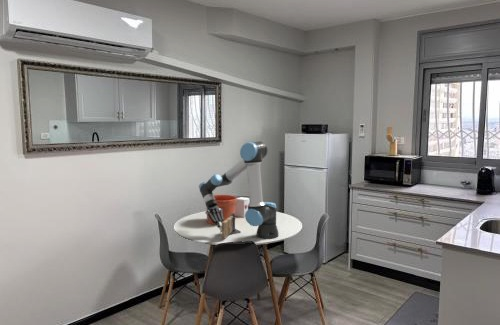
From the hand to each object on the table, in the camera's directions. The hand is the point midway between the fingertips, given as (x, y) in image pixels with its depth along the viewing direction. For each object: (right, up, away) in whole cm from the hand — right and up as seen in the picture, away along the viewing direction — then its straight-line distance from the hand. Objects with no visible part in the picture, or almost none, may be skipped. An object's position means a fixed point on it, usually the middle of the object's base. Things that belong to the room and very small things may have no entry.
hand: (222, 231), depth 242 cm
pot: (-5, -1, +44) cm, 44 cm away
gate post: (+6, -4, +15) cm, 17 cm away
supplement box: (+12, +1, +63) cm, 64 cm away
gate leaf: (+3, -3, +4) cm, 6 cm away
